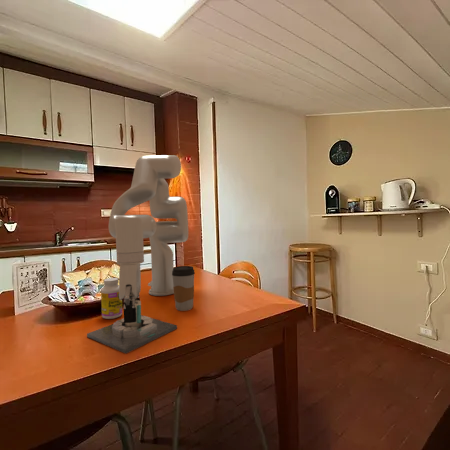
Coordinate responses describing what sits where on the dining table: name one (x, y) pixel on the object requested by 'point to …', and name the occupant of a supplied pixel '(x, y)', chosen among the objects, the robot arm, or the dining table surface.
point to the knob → (138, 315)
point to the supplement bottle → (111, 299)
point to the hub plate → (129, 342)
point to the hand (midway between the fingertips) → (132, 316)
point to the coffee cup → (183, 287)
